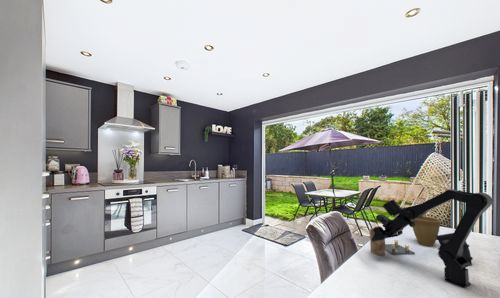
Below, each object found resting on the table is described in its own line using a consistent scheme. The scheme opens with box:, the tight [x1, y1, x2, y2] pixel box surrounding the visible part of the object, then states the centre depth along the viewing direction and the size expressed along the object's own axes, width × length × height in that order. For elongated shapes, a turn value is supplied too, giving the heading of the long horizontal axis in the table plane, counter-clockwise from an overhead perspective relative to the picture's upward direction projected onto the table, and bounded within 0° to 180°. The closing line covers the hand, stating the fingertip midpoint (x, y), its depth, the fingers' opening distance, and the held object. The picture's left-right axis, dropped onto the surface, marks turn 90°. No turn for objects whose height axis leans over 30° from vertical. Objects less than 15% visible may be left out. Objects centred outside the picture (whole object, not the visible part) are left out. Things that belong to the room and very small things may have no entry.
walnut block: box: [369, 227, 386, 257], centre depth 119 cm, size 5×5×13 cm
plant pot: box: [411, 216, 441, 247], centre depth 136 cm, size 15×15×16 cm
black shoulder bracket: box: [436, 232, 473, 267], centre depth 112 cm, size 4×13×15 cm, turn 27°
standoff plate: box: [385, 239, 416, 256], centre depth 125 cm, size 13×13×4 cm
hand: (377, 239), depth 119 cm, fingers open, 9 cm apart
